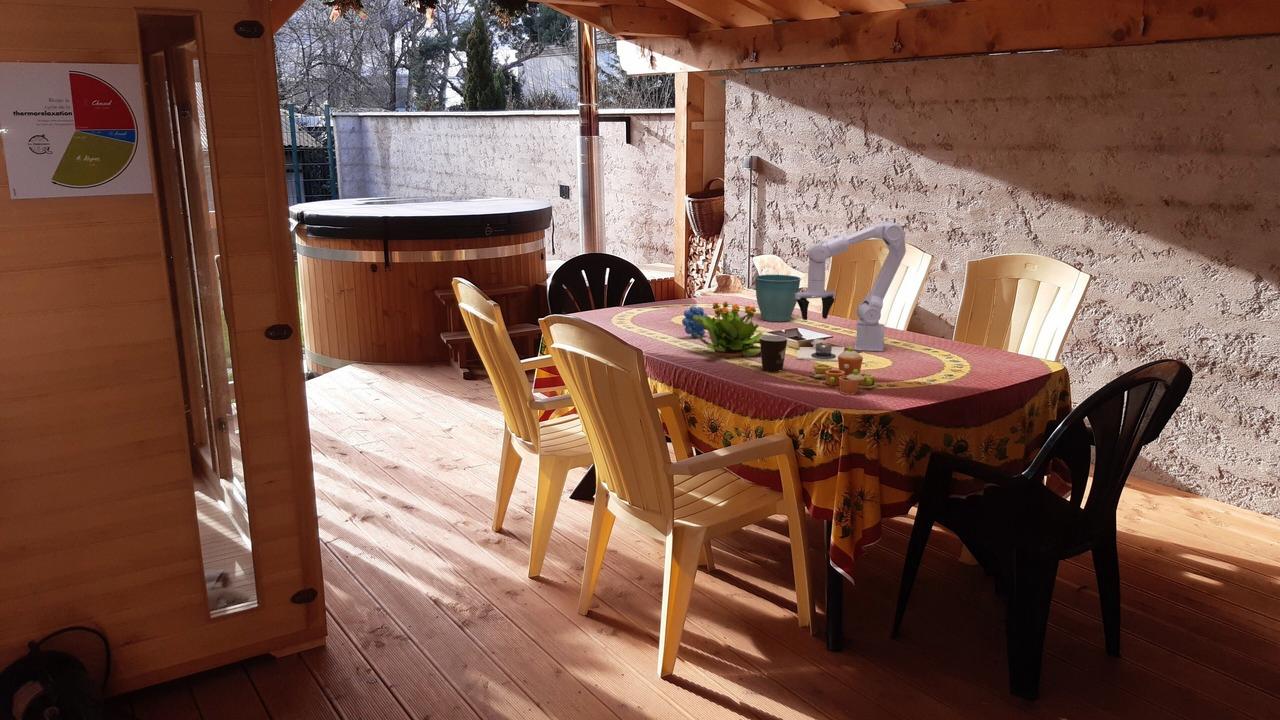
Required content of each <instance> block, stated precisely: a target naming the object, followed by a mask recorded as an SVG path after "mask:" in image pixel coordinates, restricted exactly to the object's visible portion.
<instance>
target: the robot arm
mask: <svg viewBox="0 0 1280 720" xmlns="http://www.w3.org/2000/svg"><path fill="white" fill-rule="evenodd" d="M905 237H906V233H905V231H904V229H903V227H902V226H901V225H900V224H898V223H896V222H893V221H892V220H885V221H883V222H879V223H878V222H877V223H875V224H872V225H870V226H868V227H866V228H863V229H861V230H858V231H856V232H854V233H851V234H849V235H847V236H845V235H842V234H840V235H838V234H835V235H833V237H832V238H830V239H826V240H820V243H813V244H812V245H810V246H809V248H808V250H807V253H806V254H807V256H808V269H807V270H808V272H807V273H808V274H807V291H802V292H798V293H795V299H797V302H796V304H797V305H798V306H799V310H800V313H801V319H802V320H804V321H807V320H808V312H809V311H808V309H809V306H810V301H809V300H808V299H821V305H822V311H821V316H822V317H821V318H822V319H823V320H824V319H825V320H826V319H828V316H829V312H830V310H831V307H832V306H833V304H835V300H836V299H835V298H837V291H835V290H834V291H833V290H825V284H826V269H827V268H826V261H827V259H828V258H832V257H835V256H837V255H839V254H841V253H845V252H846V251H848V249H849V247H850V246H852V245H855V244H858V243H861V242H864V241H867V240H869V239H879V240H882V241H883V242H884V243H885V245H886V248H887V249H888V253H887V254H886V257H885V260H884V262H883V264H882V266H881V269H880V270H879V273H878V274H877V276H876V279H875V281H874V283H873V284H872V286H871V289H870V291H869V293H868V294H867V295H866V296H865V298H864V300H863V301H862V302H861V303H860V304H859V305H858V306H857V308H856V314H857V316H858V320H857V321H856V322H857V325H856V337H855V340H856V341H855V342H856V343H855V344H854V351H869V352H872V351H873V352H884V346H885V324H884V323H880V319H881V317H882V309H883V306H884V299H885V297H886V295H887V292H888V290H889V288H890V287H891V284H892V282H893V280H894V278H895V276H896V273H897V271H898V269H899V267H900V265H901V263H902V261H903V259H904V256H905V255H906V252H907V250H906V248H907V247H906V241H905V240H906V238H905Z"/></svg>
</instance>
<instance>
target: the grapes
mask: <svg viewBox="0 0 1280 720" xmlns="http://www.w3.org/2000/svg"><path fill="white" fill-rule="evenodd" d="M704 312H705V311H704V308H703V307H700V306H698V307H696V306H695V305H691V306H690V307H689V310H687V309H686V310H684V311H683V316H684V318H683V319H682V320H681V324H682V326H684V332H685V333H686V334H687V335H690V336H691V337H692V338H693V339H697V338H698V337H697V336H695V334H697V335H698V336H699V337H704V336H705V334H706V332H705V331H707V329H706V328H705V327H704V326H703V325H702V324H700V323H699V322H697V321H694V320H693V319H694V318H693V315H697V316H698V317H700V316H704V317H705V318H706V316H708V314H707V313H704ZM692 332H693V333H692ZM694 333H695V334H694Z"/></svg>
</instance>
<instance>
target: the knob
mask: <svg viewBox="0 0 1280 720" xmlns="http://www.w3.org/2000/svg"><path fill="white" fill-rule="evenodd" d="M831 351H832V344H831V343H828V342H826V343H823V342H820V343H817V344H816V352H815V355H816V356H820V357H829V356H831Z"/></svg>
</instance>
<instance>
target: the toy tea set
mask: <svg viewBox="0 0 1280 720" xmlns="http://www.w3.org/2000/svg"><path fill="white" fill-rule="evenodd" d="M863 358H864V357H863V356H862V355H861V354H860V353H858V351H857V350H854V348H853V347H852V346H849V347H848V349H847V350H844V352H842V353H841V354H840V355H839V356H838V369H833V366H832V365H829V364H826V363H825V364H823V363H818V362H817V363H815V364H814V366H813V367H814V368H813V369H814V371H813V370H812V369H810V371H811V372H812V373H811V376H812V377H813V378H815V379H819V378H821V379H820V380H826V385H828V384H830V385H829V386H832V385H840V386H839V391H841V392H844V393H855V394H857V393H856V392H857V391H858V389H863V388H870V389H874V388H876V387H877V383H875V382H876V378H875V375H874V374H873V373H867V372H866V373H864V372H862V373H861V368H862V364H863ZM858 387H859V388H858ZM873 387H874V388H873ZM841 392H840V393H841ZM844 393H843V394H844Z"/></svg>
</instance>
